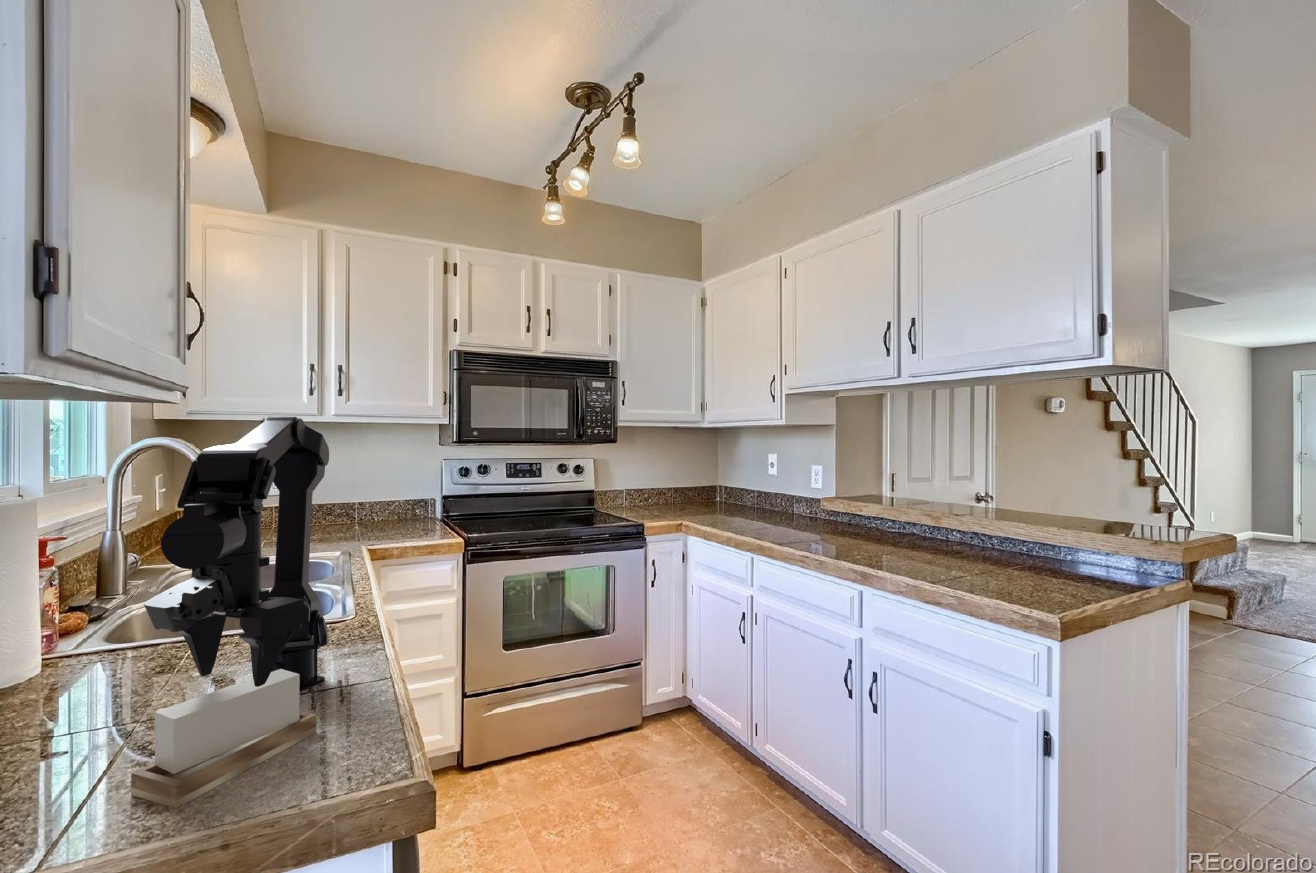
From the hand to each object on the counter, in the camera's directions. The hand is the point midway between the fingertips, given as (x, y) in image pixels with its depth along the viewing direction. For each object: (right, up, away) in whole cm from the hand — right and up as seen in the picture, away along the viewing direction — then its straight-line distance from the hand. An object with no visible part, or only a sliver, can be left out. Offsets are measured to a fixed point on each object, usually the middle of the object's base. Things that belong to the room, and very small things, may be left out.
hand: (232, 680), depth 73 cm
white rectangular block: (0, -7, 0) cm, 7 cm away
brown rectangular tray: (0, -10, 0) cm, 10 cm away
